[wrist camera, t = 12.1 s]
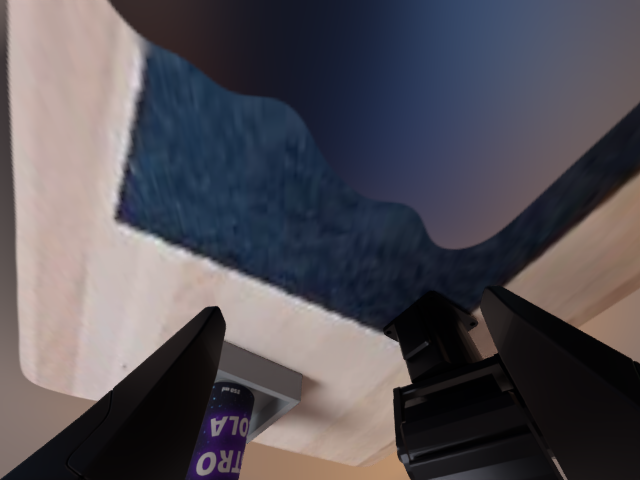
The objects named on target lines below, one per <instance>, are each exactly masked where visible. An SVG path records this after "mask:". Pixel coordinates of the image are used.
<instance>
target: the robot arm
mask: <svg viewBox="0 0 640 480" xmlns="http://www.w3.org/2000/svg"><path fill="white" fill-rule="evenodd" d="M431 296H433V297H431ZM480 308H481V312H482V315H483V317H484V319H485V322H486V324H487V327H488V329H489V331H490V334H491V336H492V339H493V341H494V343H495V346H496V348H497V350H498V353H497V354H494V356H492V357H489V358H486V359H483V358H482V356H481V355H480V353H479V351H478V349H477V347H476V346H475V344H474V342H473V340H472V338H471V337H470V335H469V333H468V331H470V330H471V329H473V328H474V327H476V326H477V325H478V321H477V320H476V318H474V317H473V316H471V315H470V314H468V313H467V312H465V311H464V310H462V309H461V308H459V307H457V306H456V305H454V304H453V303H451V302H450V301H448V300H447V299H445V298H444V297H442V296H441V295H439V294H438V293H436V292H434V291H429V292H427V293H426V294H425V295H424V296H422V297H421V298H420V299H419V300H417V301H416V302H415V303H414V304H412V305H411V306H410V307H409V308H407V309H406V310H405V311H404V312H403V313H401V314H400V315H399V316H398V317H396V318H395V319H394V320H393V321H391V322H390V323H389V324H388V325H387V326H385V327H384V328H383V331H384V334H385V335H386V336H388V337H390V338H391V339H393V340H395V341H397V342H399V345H400V348H401V352H402V355H403V359H404V360H405V361H406V365H407V368H408V372H409V375H410V379H411V382H412V383H413V384H410V385H407V386H404V387H401V388H400V387H397V388H394V389H393V394H394V399H393V405H394V420H395V435H396V446H397V455H398V458H399V460H400V461H401V462H402V463H403V464H404V466H405V469H406V471H407V473H408V475H409V477H410V479H411V480H564V479H563V477H562V476H561V474H560V472H559V471H558V469H557V467H556V465H555V464H554V462H553V460H552V459H557V461H558V463H559V465H560V467H561V468H562V470H563V472H564V474H565V476H566V477H567V479H568V480H640V363H638V362H636V361H633V360H632V359H631V358H629V357H627V356H626V355H624V354H622V353H620V352H618V351H617V350H615V349H613V348H611V347H609V346H608V345H606V344H604V343H602V342H600V341H599V340H597V339H595V338H593V337H592V336H590V335H588V334H586V333H584V332H583V331H581V330H579V329H577V328H575V327H574V326H572V325H570V324H568V323H566V322H565V321H563V320H561V319H559V318H557V317H556V316H554V315H552V314H550V313H548V312H547V311H545V310H543V309H541V308H539V307H538V306H536V305H534V304H532V303H531V302H529V301H527V300H525V299H523V298H522V297H520V296H518V295H516V294H514V293H513V292H511V291H509V290H507V289H505V288H504V287H502V286H498V285H496V286H487V287H486V288H485V289H484V292H483V296H482V300H481V304H480ZM225 331H226V323H225V320H224V317H223V315H222V312H221V310H220V308H219V307H218V306H212V307H206V308H204V309H203V310H202V311H201V312H200V313H199V314H198V315H196V316H195V317H194V318H193V319H192V320H191V321H189V322H188V323H187V324H186V325H185V326H184V327H183V328H181V329H180V330H179V331H178V332H177V333H176V334H175V335H173V336H172V337H171V338H170V339H169V340H168V341H167V342H165V343H164V344H163V345H162V346H161V347H160V348H159V349H157V350H156V351H155V352H154V353H153V354H152V355H151V356H149V357H148V358H147V359H146V360H145V361H144V362H143V363H141V364H140V365H139V366H138V367H137V368H136V369H135V370H133V371H132V372H131V373H130V374H129V375H128V376H127V377H125V378H124V379H123V380H122V381H121V382H120V383H118V384H117V385H116V386H115V387H114V388H113V390H111V391H109V392H108V393H107V394H106V395H105V396H104V397H102V398H101V399H100V400H99V401H98V402H97V403H96V404H94V405H93V406H92V407H91V408H90V409H88V410H87V411H86V412H85V413H84V414H83V415H81V416H80V417H79V418H78V419H76V420H75V421H74V422H73V423H71V424H70V425H69V426H68V427H66V428H65V429H64V430H63V431H62V432H60V433H59V434H58V435H56V436H55V437H54V438H53V439H51V440H50V441H49V442H47V443H46V444H45V445H44V446H43V447H41V448H40V449H39V450H37V451H36V452H35V453H34V454H32V455H31V456H30V457H28V458H27V459H26V460H25V461H23V462H22V463H21V464H20V465H18V466H17V467H16V468H14V469H13V470H12V471H10V472H9V473H8V474H7V475H5V476H4V477H3V478H1V479H0V480H185V479H186V475H187V472H188V469H189V465H190V462H191V459H192V455H193V452H194V449H195V446H196V442H197V439H198V436H199V432H200V429H201V426H202V422H203V419H204V416H205V412H206V409H207V406H208V402H209V399H210V396H211V392H212V389H213V386H214V382H215V379H216V376H217V372H218V368H219V363H220V357H221V352H222V347H223V341H224V336H225Z"/></svg>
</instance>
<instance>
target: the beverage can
mask: <svg viewBox="0 0 640 480" xmlns="http://www.w3.org/2000/svg"><path fill="white" fill-rule="evenodd" d="M254 401H255V398H254V395H253V393H252V392H251V391H250V389H249V387H248V386H246V385H243V384H241V383H238V382H236V381H233V380H230V379H228V378H224V379H220V380H217V381H216V382H214V386H213V389H212V392H211V396H210V399H209V402H208V406H207V409H206V412H205V416H204V419H203V422H202V426H201V429H200V432H199V436H198V439H197V442H196V446H195V449H194V452H193V455H192V459H191V462H190V465H189V469H188V472H187V475H186V479H185V480H238V479H239V474H240V469H241V465H242V460H243V455H244V450H245V445H246V440H247V435H248V431H249V426H250V421H251V416H252V411H253V406H254Z"/></svg>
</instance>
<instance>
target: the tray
mask: <svg viewBox="0 0 640 480" xmlns="http://www.w3.org/2000/svg"><path fill="white" fill-rule="evenodd" d="M224 378H228V379H230V380H233V381H236V382H238V383H241V384H243V385H246V386H248V387H249V389H250V391H251V392H252V393H253V395H254V398H255V401H254V406H253V411H252V416H251V421H250V426H249V431H248V435H247V440H246V443H247V444H248V443H249V442H250V441H252V440H253V439H254V438H255V437H257V436H258V435H259V434H260V433H262V432H263V431H264V430H265V429H267V428H268V427H269V426H270V425H272V424H273V423H274V422H276V421H277V420H278V419H279V418H281V417H282V416H283V415H284V414H286V413H287V412H288V411H289V410H291V409H292V408H293V407H294V406H296V405H297V404H298V403H299V402H300V401H301V386H302V374H299V373H297V372H295V371H292V370H290V369H288V368H285V367H283V366H281V365H278V364H276V363H274V362H271V361H269V360H267V359H264V358H262V357H260V356H257V355H255V354H253V353H251V352H248V351H246V350H244V349H241V348H239V347H237V346H234V345H232V344H230V343H227V342H225V341H223V347H222V352H221V357H220V363H219V368H218V372H217V376H216V379H215V382H216V381H217V380H220V379H224Z"/></svg>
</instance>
